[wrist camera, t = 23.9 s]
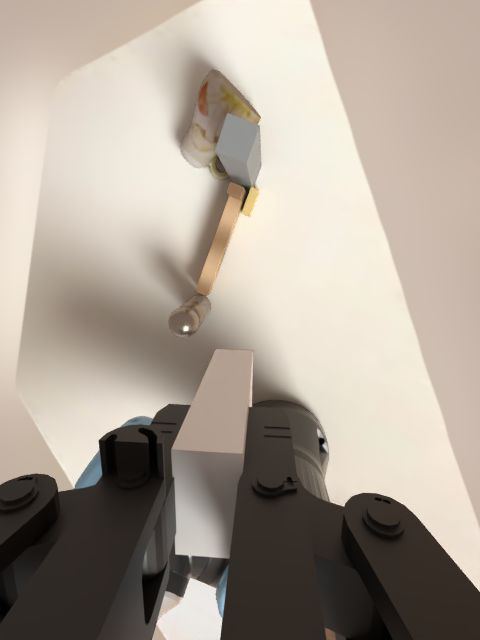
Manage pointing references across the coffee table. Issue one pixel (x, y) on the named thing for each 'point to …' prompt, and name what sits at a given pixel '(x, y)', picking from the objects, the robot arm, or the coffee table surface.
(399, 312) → the coffee table surface
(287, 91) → the coffee table surface
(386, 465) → the coffee table surface
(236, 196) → the gate
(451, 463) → the coffee table surface
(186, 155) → the white floral pitcher
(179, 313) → the hinge post
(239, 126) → the post
